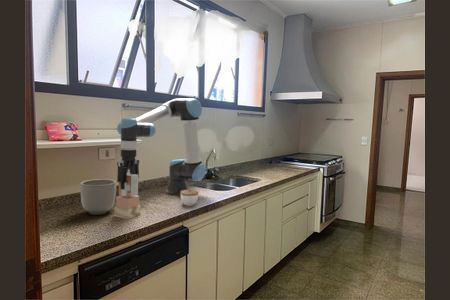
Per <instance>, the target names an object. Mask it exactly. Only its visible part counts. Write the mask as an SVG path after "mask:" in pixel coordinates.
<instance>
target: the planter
mask: <svg viewBox="0 0 450 300" xmlns="http://www.w3.org/2000/svg"><path fill="white" fill-rule="evenodd" d="M79 189H80V190H79V191H80V193H79V194H80V201H81V205H82V208H83V210H85V211H86V212H88V213H89V214H90V215H93V216H94V215H95V216H97V215H98V216H99V215H104V214H107V213H108V212H109V210H111V209H112V208H113V207H114V205H115V203H116V195H117V194H116V193H117V181H116V180H114V179H109V178H106V179H105V178H102V179H101V178H100V179H89V180H88V179H87V180H83V181H81V182H80V183H79Z"/></svg>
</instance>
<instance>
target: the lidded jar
mask: <svg viewBox="0 0 450 300" xmlns="http://www.w3.org/2000/svg"><path fill="white" fill-rule="evenodd" d="M198 199H199V191H198V190H196V189H191V188H188V190H182V191H181V192H180V202H181V203H182V204H183V205H184V206H187V207H188V206H189V207H190V206H191V207H192V206H194V205H195V204H196V203H197V202H198Z"/></svg>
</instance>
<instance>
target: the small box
mask: <svg viewBox="0 0 450 300" xmlns="http://www.w3.org/2000/svg"><path fill="white" fill-rule="evenodd" d="M125 183H127V196H129V197H132V196H135V195H137V196H139V178H138V175H136V174H130V173H128V172H127V177H126V182H125ZM117 193H118V196H121V183H120V182H118V192H117Z"/></svg>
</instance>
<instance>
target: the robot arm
mask: <svg viewBox="0 0 450 300" xmlns="http://www.w3.org/2000/svg"><path fill="white" fill-rule="evenodd" d="M202 112H203V108H202V104H201V102H200V101H199V99H197V98H190V97H188V98H174V99H172V100H169V101H166V102H165V103H162V104H160V106H159V107H156V108H155V109H152V110H151V111H149V112H146V113H144V114H142V115H139V116H138V117H135V118H129V117H128V118H127V117H126V118H125V117H124V118H121V120H120V122H118V125H117V126H116V128H117V132H118V134H119V135H120V148H121V150H120V157H121V161H119V162H118V161H117V163H116V165H117V175H116V176H117V179H116V180H117V181H116V183H119V182H120V183H121V195H123V196H127V183H125V182H126V177H127V173H128V172H129V174H136V175H138V179H139V178H140V171H139V167H140V166H139V165H140V160H139V159H136V157H137V144H138V143H137V140H138V139H137V138H152V137H153V136H154V135H155V134H156V126H155V124H157V123H158V122H160V121H162V120H164V119H170V118H173V117H179V118H180V121H181V122H182V124H183V133H184V144H185V145H184V146H185V147H184V148H185V157H186V158H183V159H182V158H181V159H179V158H178V159H173V160H170V162H169V166H168V167H169V175H168V176H169V180H168V184H167V187H166V193H167V194H169V195H177V196H178V195H180V196H181V194H180V192H181V191H182V190H189V186H188V184H187V180H190V181H202V179H204V178H205V175H206V173H207V168H206V167H207V166H206V165H205V164H204V163H203V161H202V158H201V157H200V151H199V150H200V149H199V137H198V136H199V134H198V123H197V122H198V121H199V119H200V117H201V116H202ZM121 195H120V196H121Z"/></svg>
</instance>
